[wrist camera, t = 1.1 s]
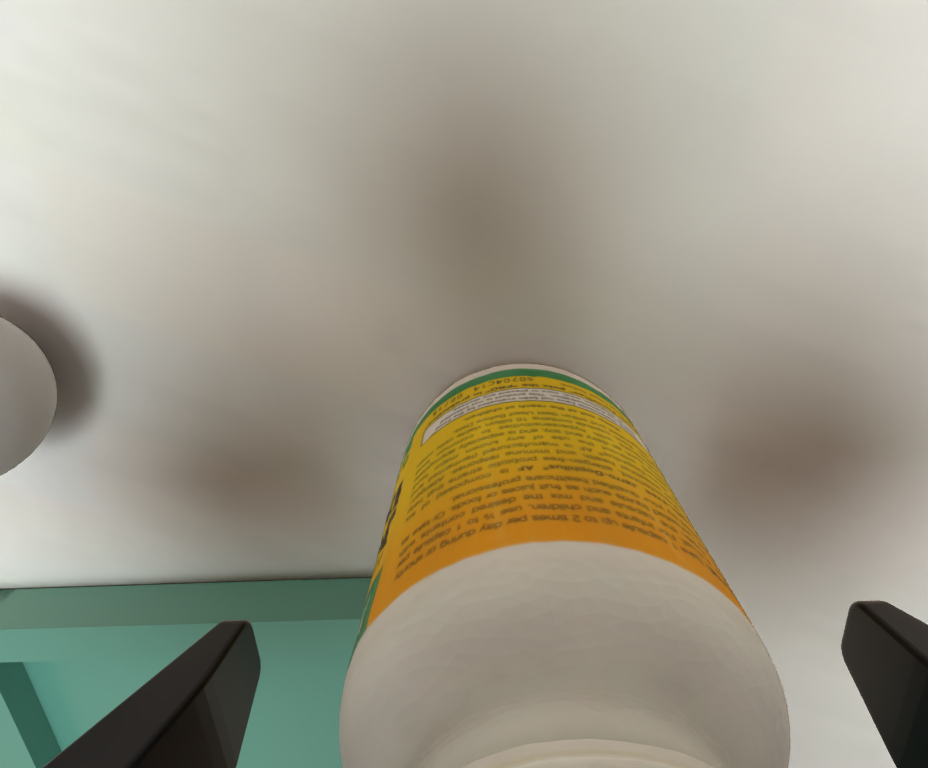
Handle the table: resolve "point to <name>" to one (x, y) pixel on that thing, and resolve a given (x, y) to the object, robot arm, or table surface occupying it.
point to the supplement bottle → (549, 601)
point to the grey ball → (23, 396)
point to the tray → (160, 642)
